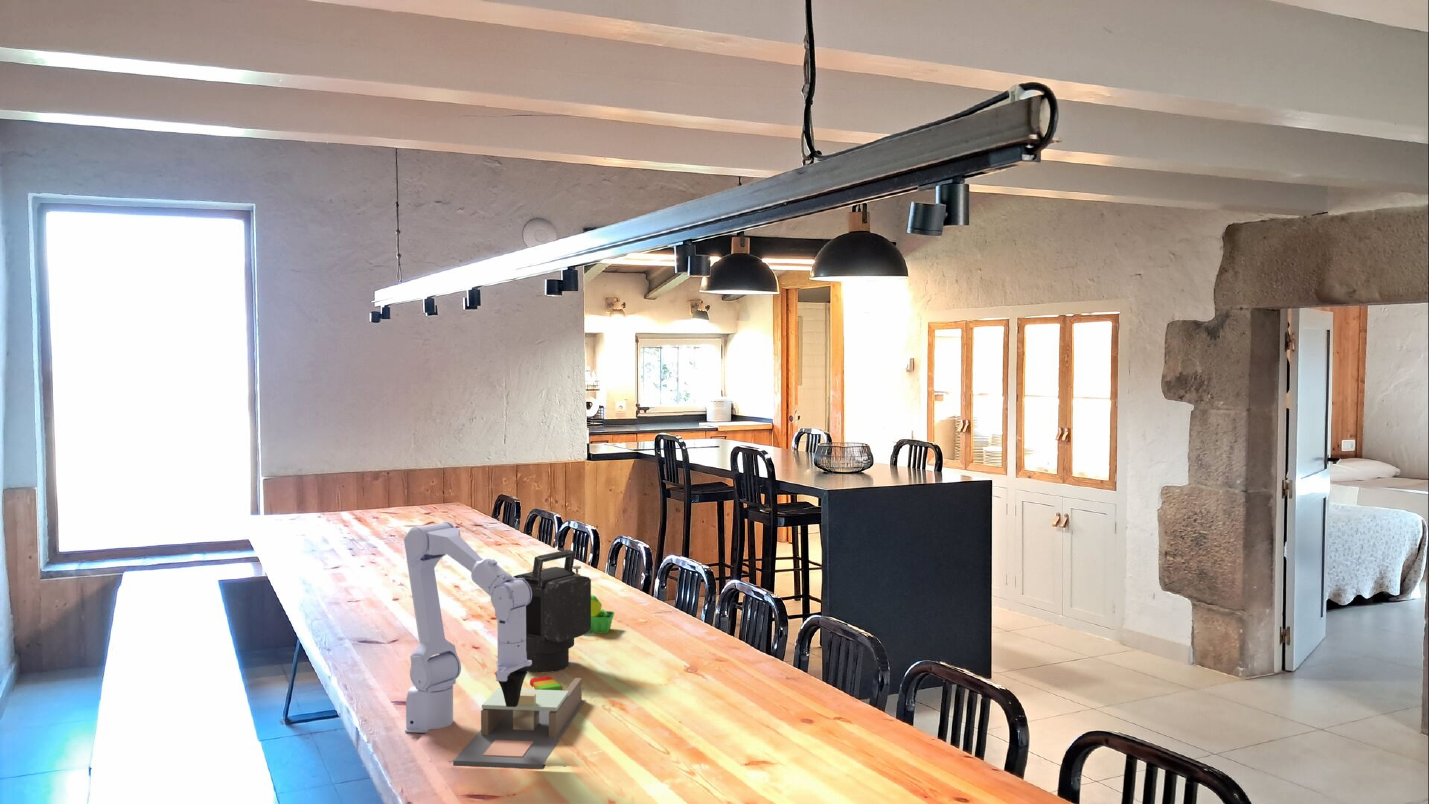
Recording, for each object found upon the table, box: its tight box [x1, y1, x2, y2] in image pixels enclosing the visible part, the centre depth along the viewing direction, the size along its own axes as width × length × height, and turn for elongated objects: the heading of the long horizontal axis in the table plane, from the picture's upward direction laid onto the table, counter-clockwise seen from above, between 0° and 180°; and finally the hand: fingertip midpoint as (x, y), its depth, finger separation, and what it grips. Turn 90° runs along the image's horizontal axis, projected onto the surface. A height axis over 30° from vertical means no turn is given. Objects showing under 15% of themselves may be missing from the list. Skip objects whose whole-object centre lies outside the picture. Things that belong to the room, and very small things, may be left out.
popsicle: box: [529, 675, 563, 690], centre depth 244 cm, size 6×15×2 cm, turn 29°
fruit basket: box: [587, 594, 615, 634], centre depth 299 cm, size 11×9×11 cm
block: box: [513, 710, 539, 730], centre depth 217 cm, size 4×4×5 cm
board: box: [452, 677, 586, 770], centre depth 216 cm, size 18×38×6 cm, turn 175°
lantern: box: [512, 549, 592, 674], centre depth 263 cm, size 15×18×30 cm
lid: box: [481, 687, 569, 711], centre depth 217 cm, size 16×11×3 cm
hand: (512, 705), depth 206 cm, fingers closed
